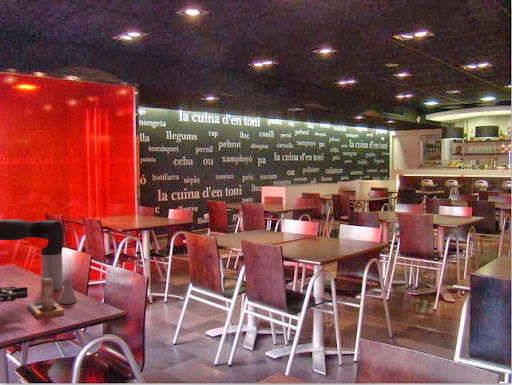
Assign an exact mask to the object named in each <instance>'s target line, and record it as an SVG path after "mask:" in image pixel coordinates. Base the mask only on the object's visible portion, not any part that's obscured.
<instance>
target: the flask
mask: <svg viewBox="0 0 512 385" xmlns="http://www.w3.org/2000/svg"><path fill="white" fill-rule="evenodd" d="M72 281H73V279H71V278H68V279H67V278H66V279H64V280H63V283H64V285H63V286H64V287H63V291H62V294H61V298H60V299H59V305H60V304H62V305H72V304H74V303H77V302H78V298H77V296H76V293H75V291H74V289H73V285H72Z"/></svg>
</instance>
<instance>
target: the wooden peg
mask: <svg viewBox="0 0 512 385" xmlns="http://www.w3.org/2000/svg"><path fill="white" fill-rule="evenodd" d="M40 283H41V285H40V286H41V288H40V289H41V301H42V312H45V311H51V310H54V302H53V300H54V291H53V279H52V278H45V279H42V278H41V279H40Z"/></svg>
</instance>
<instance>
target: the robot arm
mask: <svg viewBox="0 0 512 385" xmlns="http://www.w3.org/2000/svg"><path fill="white" fill-rule="evenodd" d="M64 230H65V229H64V225H63V223H62V222H61V221H59V220H49V219H46V220H39V221H27V220H23V219H0V241H19V240H24V239H27V238H33V239H34V238H35V239H42V240H47V244H46V246H44V247H42V248H41V250H40V258H41V280H42V279H45V278H52V279H53V292H54V291H58V290H62V289H64V287H63V286H64V285H63V284H64V281H63V248H64V239H65V238H64V235H65V233H64ZM27 298H28V287H27V286H23V287H18V286H17V287H16V286H15V285H14V286H6V287H0V303H4V302H5V303H6V302H15V300H16V301H17V299H18V300H19V299H27Z"/></svg>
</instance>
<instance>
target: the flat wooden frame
mask: <svg viewBox="0 0 512 385" xmlns="http://www.w3.org/2000/svg"><path fill="white" fill-rule="evenodd" d="M53 302H54V310H51V311H45V312H42V300H37V301H31V302H29V301H28V302H27V309H29V311H30V312H31V313H32V315H33V316H34V317H35V318H36V319H37V320H38V319H45V318H51V317H56V316H57V317H58V316H62V315H65V311H64V310H65V309H64V308H63V307H62V306H61V305H60V304H59V303H57V302H56V300H54V299H53Z"/></svg>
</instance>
